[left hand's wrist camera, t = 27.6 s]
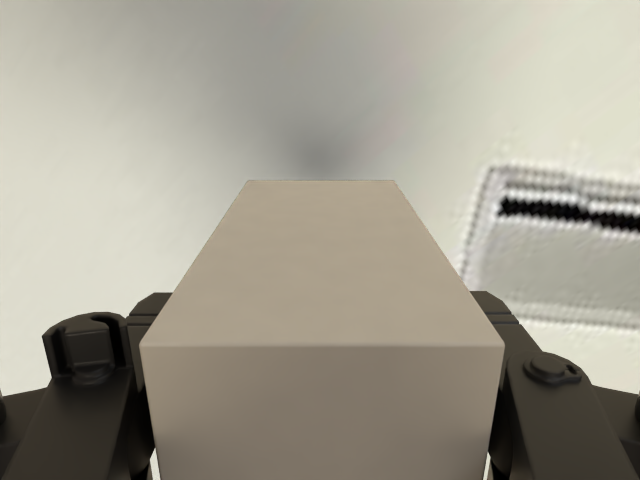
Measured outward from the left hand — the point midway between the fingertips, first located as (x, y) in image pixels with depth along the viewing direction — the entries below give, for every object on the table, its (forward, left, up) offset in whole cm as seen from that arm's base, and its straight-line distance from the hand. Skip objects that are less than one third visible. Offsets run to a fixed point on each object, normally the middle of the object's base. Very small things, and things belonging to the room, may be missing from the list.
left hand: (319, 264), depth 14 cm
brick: (0, 0, -1) cm, 1 cm away
